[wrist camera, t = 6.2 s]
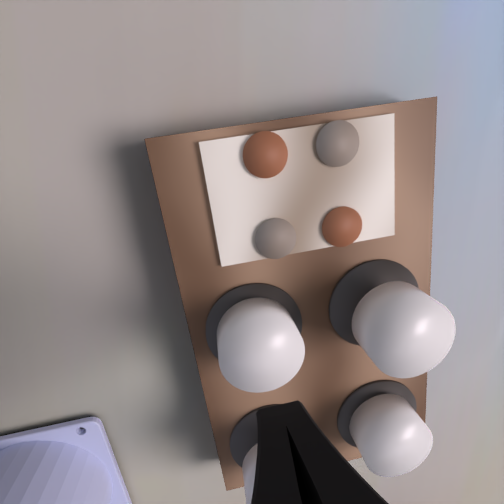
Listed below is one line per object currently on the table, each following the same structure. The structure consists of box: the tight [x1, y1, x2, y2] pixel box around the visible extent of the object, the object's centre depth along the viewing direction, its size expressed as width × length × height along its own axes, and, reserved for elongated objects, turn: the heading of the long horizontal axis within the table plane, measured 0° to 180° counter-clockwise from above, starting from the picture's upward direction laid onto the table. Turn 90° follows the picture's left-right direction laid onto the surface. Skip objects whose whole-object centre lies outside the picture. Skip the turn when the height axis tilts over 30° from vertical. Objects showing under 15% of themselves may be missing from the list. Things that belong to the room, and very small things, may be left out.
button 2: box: [217, 297, 305, 393], centre depth 14 cm, size 4×4×2 cm
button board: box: [145, 97, 437, 490], centre depth 17 cm, size 12×19×2 cm, turn 8°
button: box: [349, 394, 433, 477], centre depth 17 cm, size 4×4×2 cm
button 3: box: [352, 281, 456, 378], centre depth 14 cm, size 4×4×2 cm
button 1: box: [242, 444, 257, 504], centre depth 16 cm, size 4×4×2 cm
